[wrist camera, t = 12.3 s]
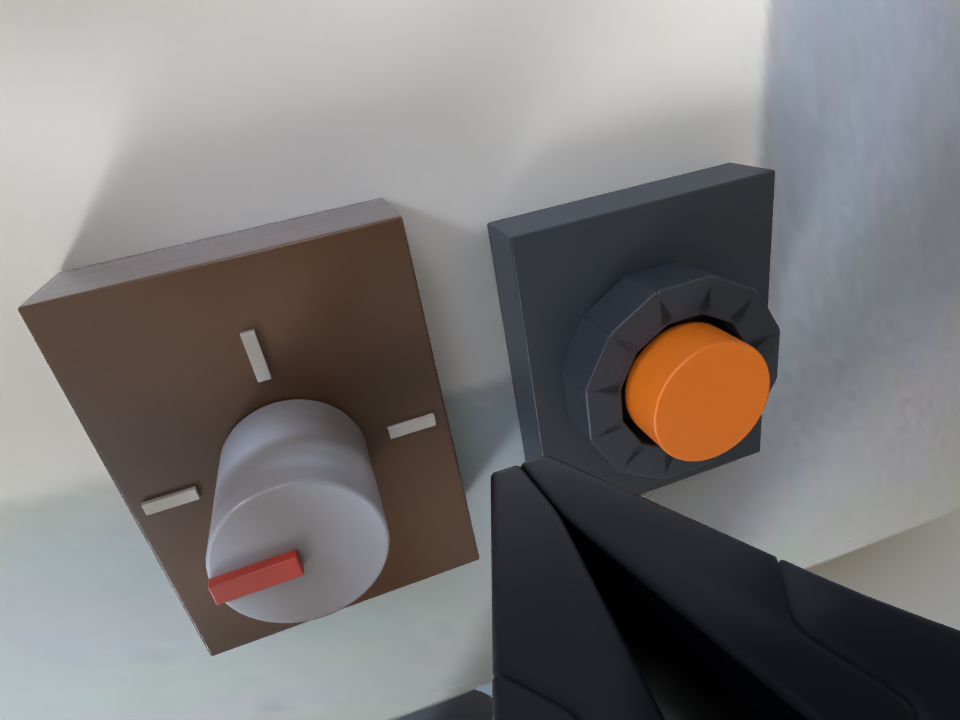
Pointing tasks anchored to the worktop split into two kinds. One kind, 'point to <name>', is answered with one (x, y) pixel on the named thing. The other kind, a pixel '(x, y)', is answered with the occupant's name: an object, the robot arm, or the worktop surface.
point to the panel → (258, 383)
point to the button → (697, 390)
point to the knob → (295, 515)
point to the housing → (629, 308)
